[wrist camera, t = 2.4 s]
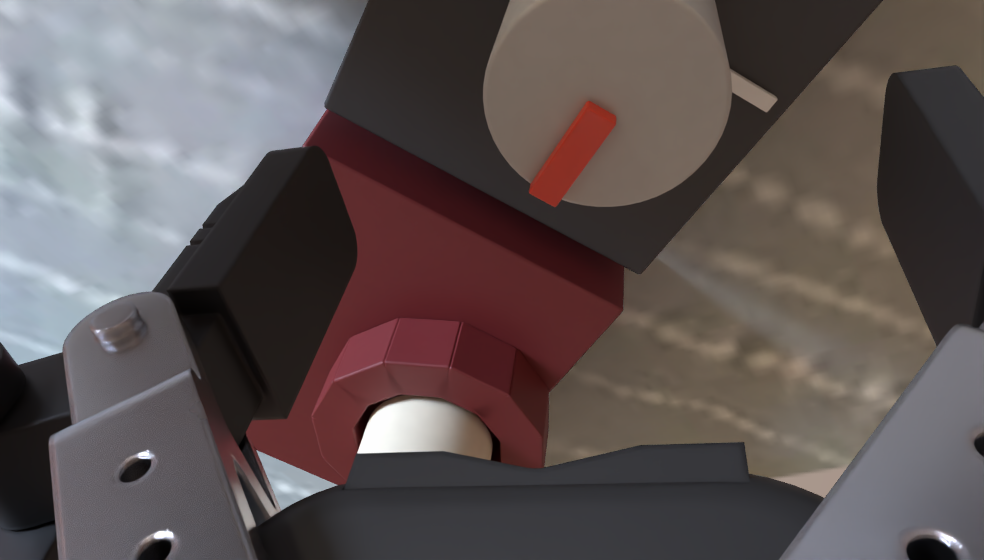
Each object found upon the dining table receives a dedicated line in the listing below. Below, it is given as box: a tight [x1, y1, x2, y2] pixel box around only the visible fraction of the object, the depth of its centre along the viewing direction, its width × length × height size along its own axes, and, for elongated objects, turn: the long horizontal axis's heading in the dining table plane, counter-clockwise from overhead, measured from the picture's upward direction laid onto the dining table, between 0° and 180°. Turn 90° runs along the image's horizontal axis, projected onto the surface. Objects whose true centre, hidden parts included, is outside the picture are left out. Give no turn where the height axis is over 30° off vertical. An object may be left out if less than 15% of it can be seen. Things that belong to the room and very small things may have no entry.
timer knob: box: [483, 0, 732, 207], centre depth 14 cm, size 4×4×5 cm
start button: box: [357, 395, 493, 460], centre depth 22 cm, size 4×4×2 cm
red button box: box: [246, 109, 624, 485], centre depth 24 cm, size 12×10×5 cm
